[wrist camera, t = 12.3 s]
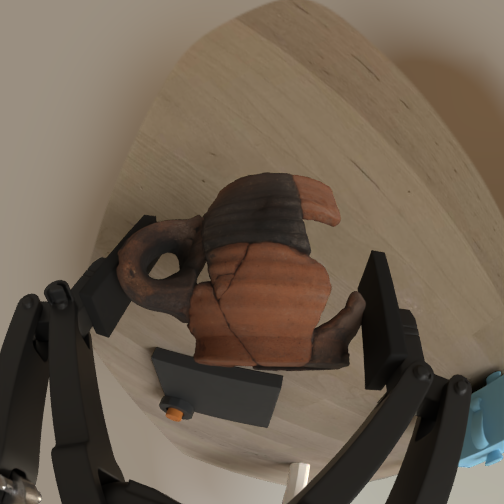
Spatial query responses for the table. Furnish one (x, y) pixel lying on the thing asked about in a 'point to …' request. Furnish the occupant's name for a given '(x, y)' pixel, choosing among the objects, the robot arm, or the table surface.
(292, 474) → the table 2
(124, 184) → the table surface
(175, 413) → the scale button
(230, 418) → the scale
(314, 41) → the table surface
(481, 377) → the table surface
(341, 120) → the table surface
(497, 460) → the teapot
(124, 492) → the robot arm
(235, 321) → the pottery mug
